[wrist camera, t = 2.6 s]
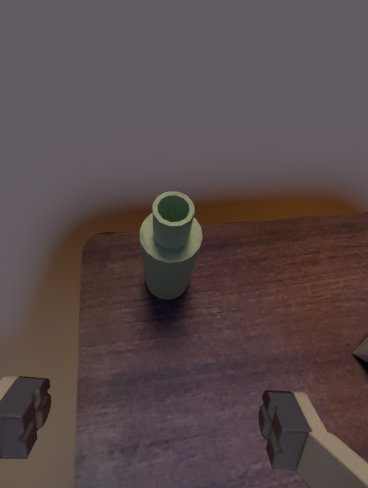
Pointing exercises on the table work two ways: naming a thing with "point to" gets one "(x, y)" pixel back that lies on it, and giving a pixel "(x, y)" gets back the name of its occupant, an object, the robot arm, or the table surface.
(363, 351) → the gemstone
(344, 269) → the table surface
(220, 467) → the table surface
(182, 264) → the bottle
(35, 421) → the robot arm
